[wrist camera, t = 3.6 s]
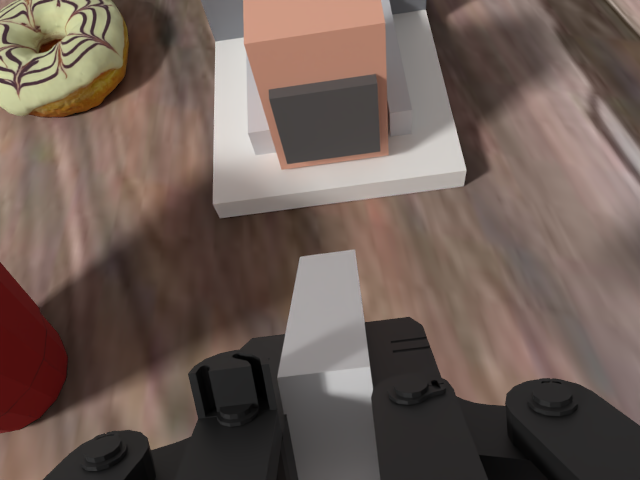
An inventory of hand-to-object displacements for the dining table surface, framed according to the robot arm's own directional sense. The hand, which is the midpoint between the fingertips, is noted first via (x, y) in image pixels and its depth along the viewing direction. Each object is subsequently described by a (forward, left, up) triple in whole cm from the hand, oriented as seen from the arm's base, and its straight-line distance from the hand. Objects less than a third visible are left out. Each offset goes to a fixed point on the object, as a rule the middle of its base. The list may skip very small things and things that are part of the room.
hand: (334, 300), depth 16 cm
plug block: (0, -15, -11) cm, 19 cm away
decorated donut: (+18, -26, -13) cm, 34 cm away
